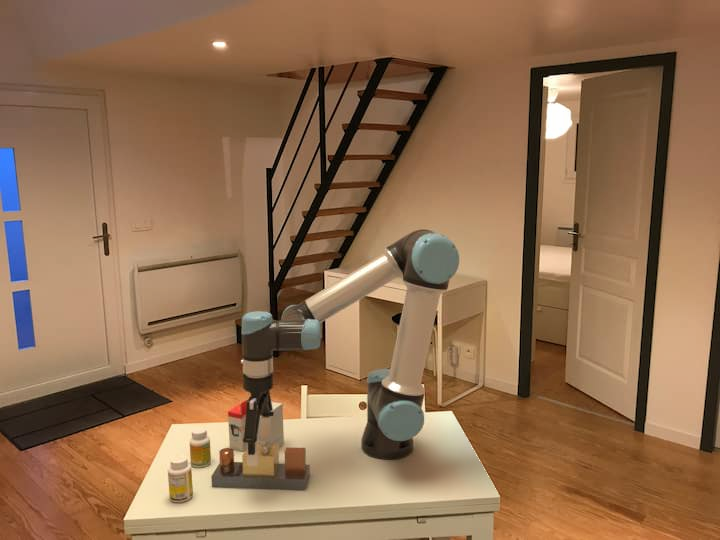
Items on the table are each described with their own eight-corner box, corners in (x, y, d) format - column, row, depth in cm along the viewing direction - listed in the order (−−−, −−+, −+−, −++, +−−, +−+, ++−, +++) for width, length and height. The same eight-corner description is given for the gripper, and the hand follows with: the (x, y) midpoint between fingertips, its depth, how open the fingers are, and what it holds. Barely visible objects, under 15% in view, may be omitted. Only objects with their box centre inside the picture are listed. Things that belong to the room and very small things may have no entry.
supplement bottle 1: (184, 488, 149) (182, 451, 147) (197, 496, 146) (195, 458, 144) (165, 498, 145) (162, 459, 143) (177, 506, 141) (175, 466, 140)
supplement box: (284, 443, 173) (283, 403, 171) (270, 454, 167) (269, 412, 165) (263, 439, 177) (262, 399, 174) (249, 449, 170) (247, 408, 168)
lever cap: (279, 465, 155) (278, 440, 154) (274, 476, 149) (273, 451, 148) (249, 463, 156) (248, 439, 154) (243, 475, 150) (242, 450, 148)
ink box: (246, 436, 178) (244, 390, 176) (259, 439, 176) (258, 393, 173) (228, 449, 170) (226, 401, 168) (243, 452, 168) (240, 403, 166)
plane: (309, 475, 156) (309, 443, 154) (304, 490, 148) (304, 457, 147) (221, 471, 157) (219, 440, 156) (211, 487, 150) (210, 454, 148)
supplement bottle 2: (205, 469, 159) (203, 435, 157) (187, 467, 160) (185, 433, 158) (214, 459, 164) (212, 426, 162) (196, 457, 165) (194, 425, 164)
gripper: (255, 357, 160) (257, 430, 164) (228, 391, 136) (231, 476, 139) (282, 358, 160) (283, 431, 163) (260, 392, 135) (262, 477, 139)
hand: (259, 452), depth 151 cm, fingers open, 13 cm apart
